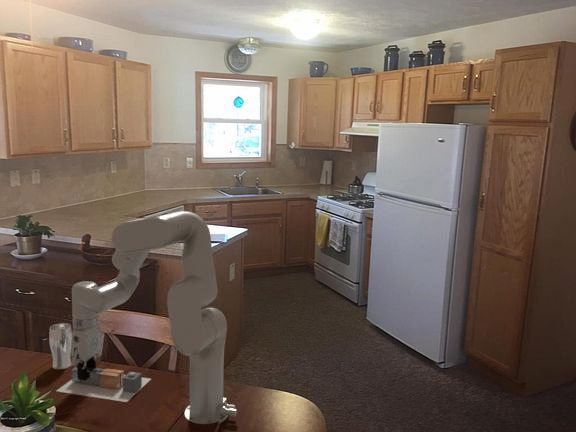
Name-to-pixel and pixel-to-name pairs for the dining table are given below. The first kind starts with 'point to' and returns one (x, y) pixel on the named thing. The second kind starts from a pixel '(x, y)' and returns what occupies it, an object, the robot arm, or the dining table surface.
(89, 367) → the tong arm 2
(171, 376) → the dining table surface
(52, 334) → the beer glass
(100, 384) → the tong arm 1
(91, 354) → the robot arm
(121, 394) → the white board with blocks
